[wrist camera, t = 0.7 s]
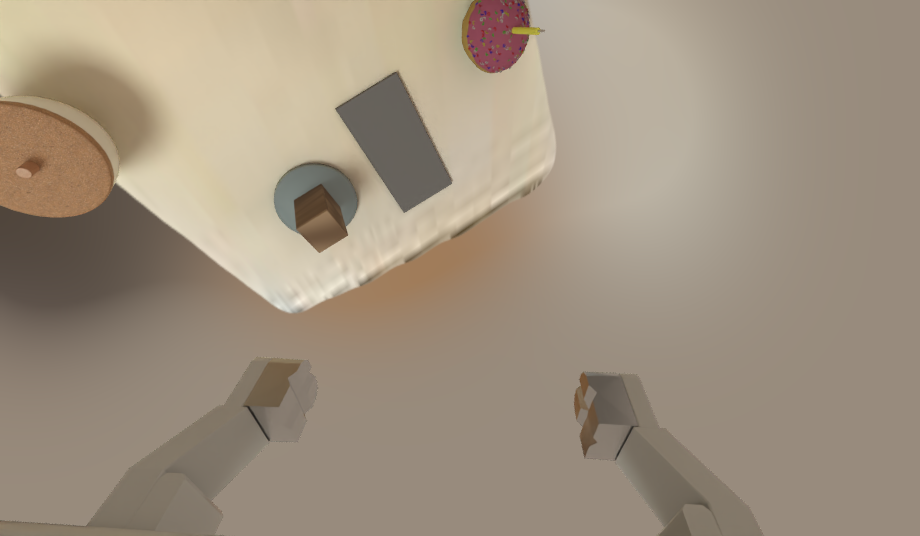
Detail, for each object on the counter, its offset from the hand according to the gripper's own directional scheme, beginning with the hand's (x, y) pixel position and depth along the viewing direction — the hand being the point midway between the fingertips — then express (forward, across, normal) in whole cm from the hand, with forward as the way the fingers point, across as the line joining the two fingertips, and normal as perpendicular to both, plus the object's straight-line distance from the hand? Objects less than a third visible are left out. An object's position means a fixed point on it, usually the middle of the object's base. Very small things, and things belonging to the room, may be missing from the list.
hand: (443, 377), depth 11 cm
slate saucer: (+40, +22, +15) cm, 48 cm away
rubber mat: (+45, +11, +9) cm, 47 cm away
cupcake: (+50, 0, -5) cm, 51 cm away
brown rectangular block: (+39, +22, +15) cm, 47 cm away
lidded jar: (+30, +43, +3) cm, 53 cm away
